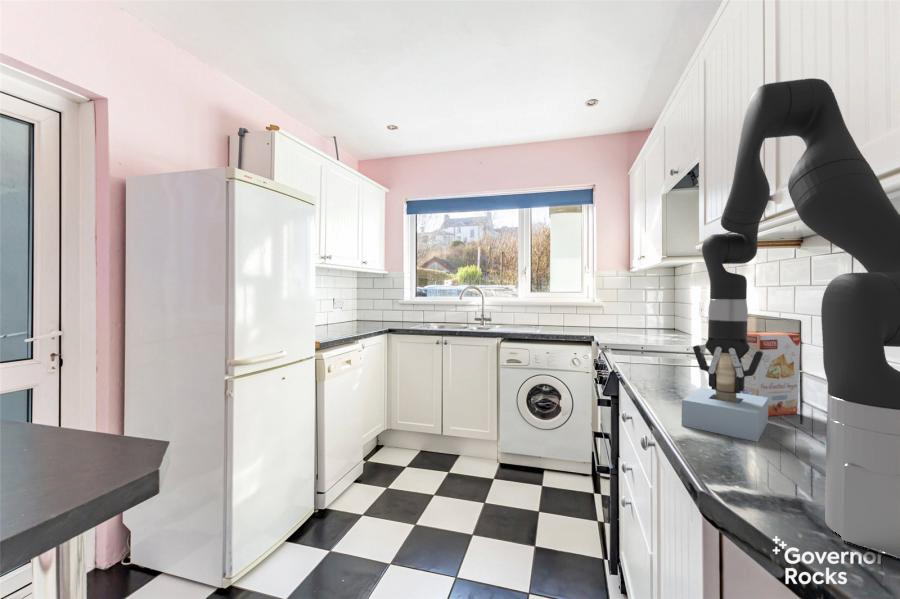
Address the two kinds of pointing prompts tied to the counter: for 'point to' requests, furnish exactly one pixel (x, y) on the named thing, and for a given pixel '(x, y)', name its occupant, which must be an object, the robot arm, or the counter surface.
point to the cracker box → (774, 370)
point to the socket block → (726, 414)
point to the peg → (725, 379)
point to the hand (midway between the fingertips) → (726, 390)
